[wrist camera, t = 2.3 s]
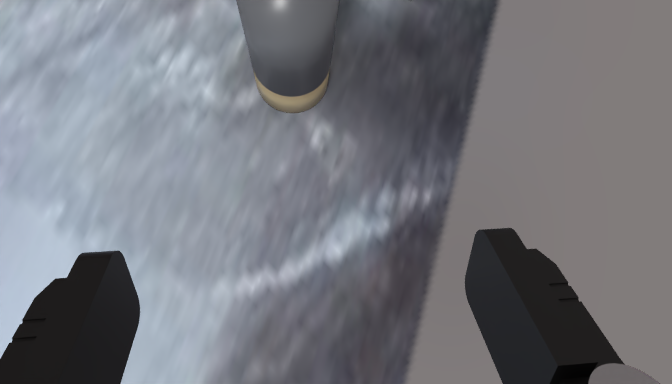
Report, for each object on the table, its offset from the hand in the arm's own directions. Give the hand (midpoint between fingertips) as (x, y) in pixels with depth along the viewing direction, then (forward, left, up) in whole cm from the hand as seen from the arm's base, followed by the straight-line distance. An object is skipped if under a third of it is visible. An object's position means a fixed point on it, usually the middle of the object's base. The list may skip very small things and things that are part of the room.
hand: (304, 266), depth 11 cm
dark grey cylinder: (-6, +9, -14) cm, 17 cm away
